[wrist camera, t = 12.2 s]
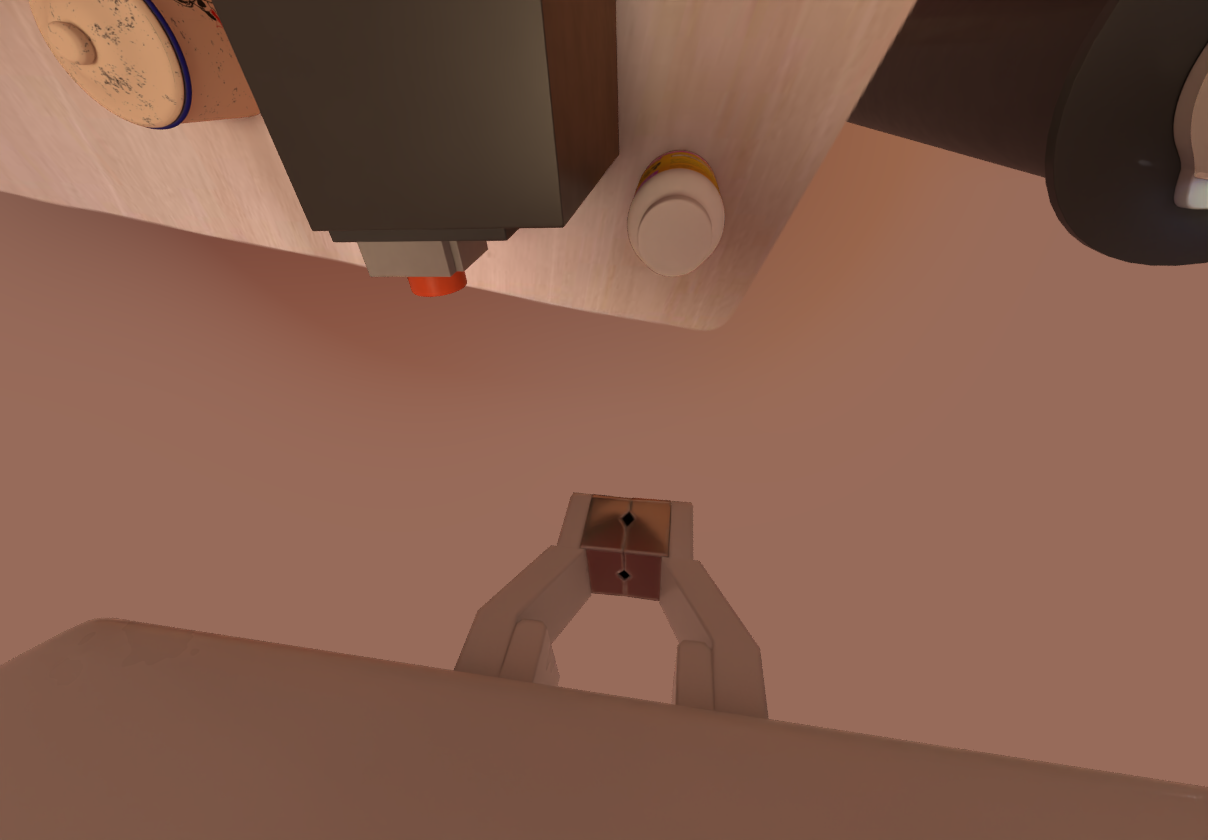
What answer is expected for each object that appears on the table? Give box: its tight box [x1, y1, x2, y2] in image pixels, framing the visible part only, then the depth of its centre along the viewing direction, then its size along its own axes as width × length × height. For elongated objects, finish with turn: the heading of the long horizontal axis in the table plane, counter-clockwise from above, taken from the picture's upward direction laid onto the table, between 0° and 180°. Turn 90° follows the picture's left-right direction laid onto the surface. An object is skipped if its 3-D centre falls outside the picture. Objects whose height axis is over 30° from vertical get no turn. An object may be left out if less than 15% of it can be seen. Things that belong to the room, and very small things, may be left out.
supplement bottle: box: [627, 150, 725, 277], centre depth 32 cm, size 7×7×13 cm
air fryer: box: [211, 0, 619, 277], centre depth 24 cm, size 12×17×22 cm
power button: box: [407, 271, 467, 297], centre depth 25 cm, size 3×2×3 cm, turn 93°
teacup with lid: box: [29, 0, 260, 129], centre depth 30 cm, size 12×9×12 cm
